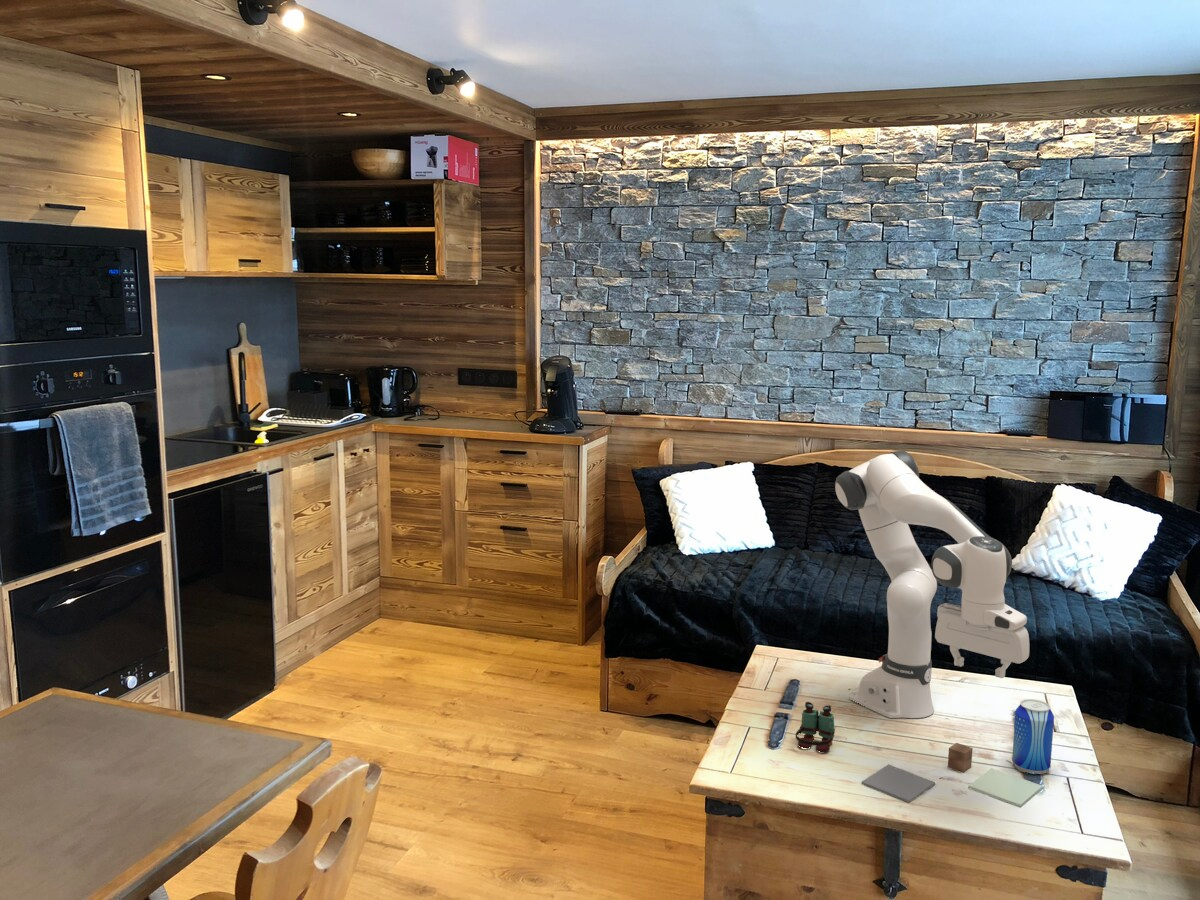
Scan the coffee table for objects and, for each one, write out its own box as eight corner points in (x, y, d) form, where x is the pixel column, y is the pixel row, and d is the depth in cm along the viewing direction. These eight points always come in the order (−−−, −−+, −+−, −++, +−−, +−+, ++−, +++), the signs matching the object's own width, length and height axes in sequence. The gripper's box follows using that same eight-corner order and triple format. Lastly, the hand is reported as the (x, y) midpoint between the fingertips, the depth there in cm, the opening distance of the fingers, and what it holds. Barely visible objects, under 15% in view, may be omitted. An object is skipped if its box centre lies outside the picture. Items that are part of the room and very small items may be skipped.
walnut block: (947, 767, 233) (948, 747, 232) (955, 761, 235) (956, 742, 235) (963, 773, 230) (964, 753, 229) (971, 767, 232) (972, 748, 232)
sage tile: (968, 787, 223) (968, 785, 223) (991, 770, 231) (991, 767, 231) (1020, 807, 214) (1020, 804, 214) (1042, 788, 222) (1042, 786, 222)
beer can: (1054, 777, 227) (1058, 713, 225) (1015, 774, 229) (1020, 710, 226) (1045, 761, 235) (1049, 699, 233) (1008, 758, 237) (1012, 696, 235)
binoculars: (793, 716, 238) (802, 697, 247) (793, 754, 241) (802, 734, 250) (829, 722, 235) (838, 703, 243) (829, 761, 237) (837, 740, 246)
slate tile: (861, 783, 225) (861, 781, 225) (888, 766, 233) (888, 764, 233) (909, 803, 216) (909, 800, 216) (935, 784, 224) (935, 782, 224)
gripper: (931, 604, 219) (928, 662, 221) (1021, 625, 204) (1018, 687, 206) (944, 598, 223) (942, 655, 225) (1034, 618, 208) (1030, 679, 210)
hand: (979, 671), depth 215 cm, fingers open, 8 cm apart
